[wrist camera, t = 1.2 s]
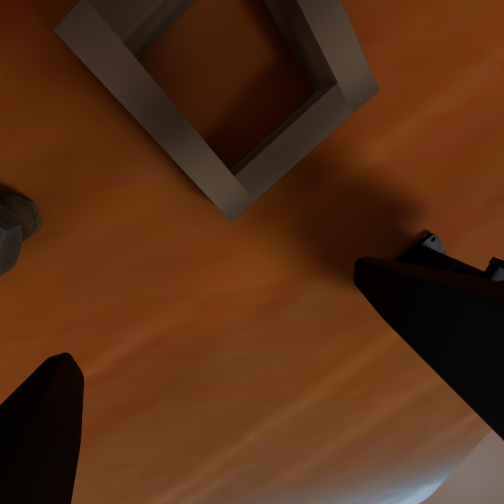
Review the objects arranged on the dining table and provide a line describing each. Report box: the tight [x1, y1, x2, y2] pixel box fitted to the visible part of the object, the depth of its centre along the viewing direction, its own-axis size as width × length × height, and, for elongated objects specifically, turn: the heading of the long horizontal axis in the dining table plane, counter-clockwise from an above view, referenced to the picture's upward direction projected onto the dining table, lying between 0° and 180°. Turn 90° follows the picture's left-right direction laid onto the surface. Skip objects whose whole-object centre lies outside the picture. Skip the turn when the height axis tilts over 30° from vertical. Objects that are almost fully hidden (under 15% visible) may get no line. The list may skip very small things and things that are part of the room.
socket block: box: [53, 0, 379, 222], centre depth 14 cm, size 12×12×3 cm
